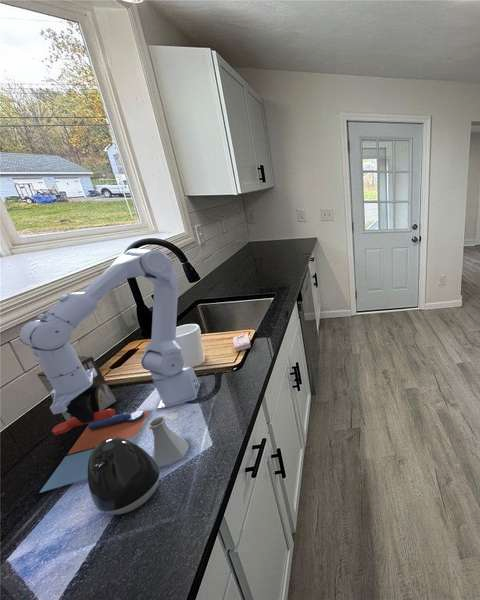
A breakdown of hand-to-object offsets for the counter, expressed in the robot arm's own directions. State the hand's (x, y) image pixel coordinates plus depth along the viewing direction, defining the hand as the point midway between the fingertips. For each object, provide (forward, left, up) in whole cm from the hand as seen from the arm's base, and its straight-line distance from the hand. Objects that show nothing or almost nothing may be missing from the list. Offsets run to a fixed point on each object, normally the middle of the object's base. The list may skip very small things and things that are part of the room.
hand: (91, 417), depth 75 cm
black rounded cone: (-13, +21, -8) cm, 26 cm away
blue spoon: (0, -7, -8) cm, 11 cm away
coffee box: (+9, -17, -8) cm, 21 cm away
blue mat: (0, +6, -8) cm, 10 cm away
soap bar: (-29, -38, -7) cm, 48 cm away
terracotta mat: (0, -4, -8) cm, 9 cm away
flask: (-17, +11, -8) cm, 22 cm away
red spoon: (+1, 0, -1) cm, 2 cm away
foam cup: (-14, -33, -8) cm, 36 cm away
